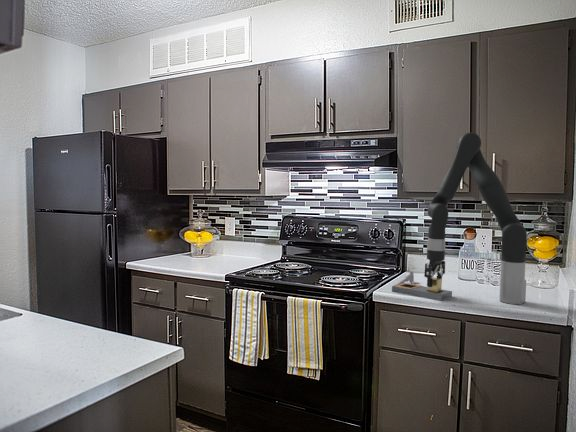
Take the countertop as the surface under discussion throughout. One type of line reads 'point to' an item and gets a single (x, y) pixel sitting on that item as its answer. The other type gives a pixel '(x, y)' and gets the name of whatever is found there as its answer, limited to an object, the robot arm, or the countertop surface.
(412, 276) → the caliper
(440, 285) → the brass block
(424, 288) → the gray fixture base
